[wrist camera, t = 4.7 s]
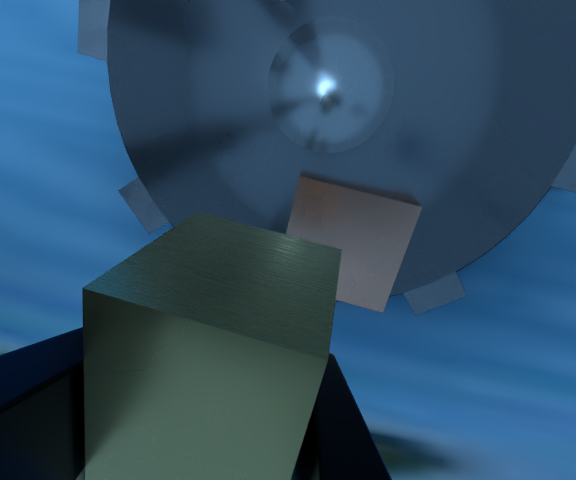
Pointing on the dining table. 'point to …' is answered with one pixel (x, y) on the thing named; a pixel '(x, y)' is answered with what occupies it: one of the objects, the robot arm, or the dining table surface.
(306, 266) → the link block
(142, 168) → the sprocket
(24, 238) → the dining table surface
